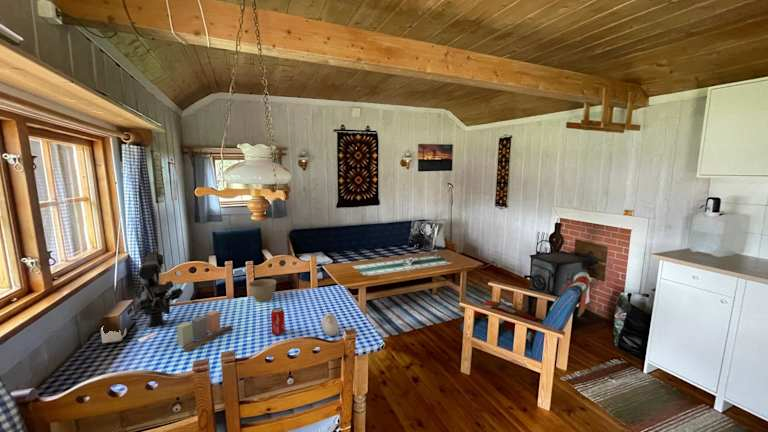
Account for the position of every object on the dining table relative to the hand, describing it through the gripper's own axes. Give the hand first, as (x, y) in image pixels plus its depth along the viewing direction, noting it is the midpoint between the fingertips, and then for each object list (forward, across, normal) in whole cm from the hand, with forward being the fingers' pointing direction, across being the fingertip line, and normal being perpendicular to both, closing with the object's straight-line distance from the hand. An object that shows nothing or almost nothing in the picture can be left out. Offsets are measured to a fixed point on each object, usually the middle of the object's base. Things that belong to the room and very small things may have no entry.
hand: (168, 313), depth 148 cm
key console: (+18, +7, +1) cm, 19 cm away
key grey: (+16, +7, +1) cm, 18 cm away
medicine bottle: (-8, -11, +27) cm, 30 cm away
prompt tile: (+4, -4, +14) cm, 15 cm away
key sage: (+16, 0, +1) cm, 16 cm away
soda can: (+38, +28, -19) cm, 50 cm away
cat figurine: (+53, +40, -34) cm, 75 cm away
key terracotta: (+16, +14, +1) cm, 21 cm away
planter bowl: (+9, +57, +9) cm, 58 cm away
